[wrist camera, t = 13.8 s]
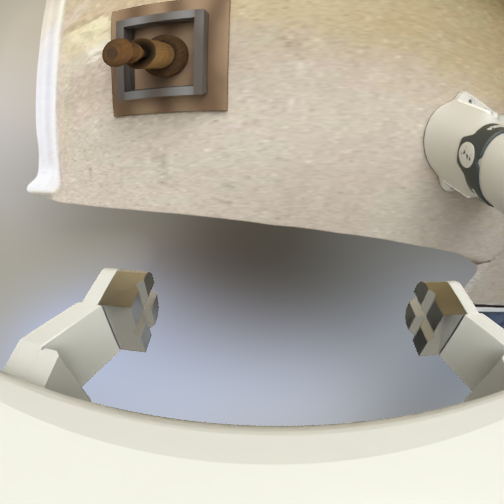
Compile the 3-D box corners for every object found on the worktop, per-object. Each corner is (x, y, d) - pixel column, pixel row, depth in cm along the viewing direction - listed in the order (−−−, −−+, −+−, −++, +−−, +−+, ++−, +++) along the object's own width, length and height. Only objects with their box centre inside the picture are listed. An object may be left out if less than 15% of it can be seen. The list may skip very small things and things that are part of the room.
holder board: (230, -2, 31) (226, -11, 27) (227, 109, 41) (223, 114, 37) (114, 12, 31) (99, 8, 27) (116, 115, 41) (102, 121, 37)
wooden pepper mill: (198, 53, 35) (158, 44, 20) (168, 85, 38) (113, 98, 23) (166, 27, 33) (111, 9, 18) (137, 59, 35) (71, 62, 21)
